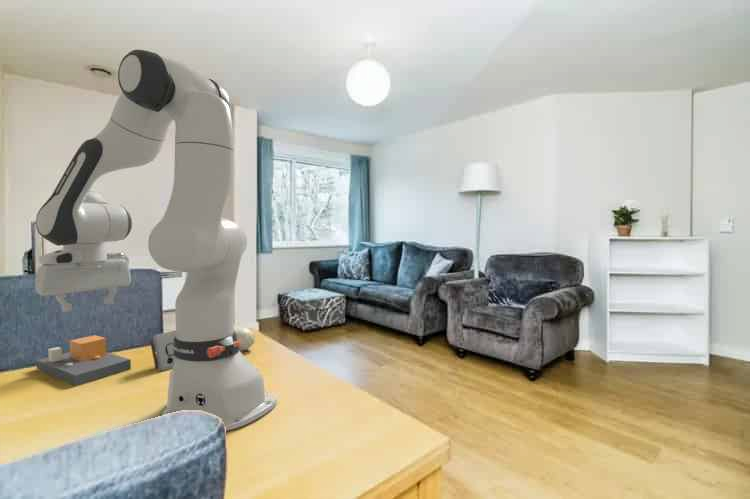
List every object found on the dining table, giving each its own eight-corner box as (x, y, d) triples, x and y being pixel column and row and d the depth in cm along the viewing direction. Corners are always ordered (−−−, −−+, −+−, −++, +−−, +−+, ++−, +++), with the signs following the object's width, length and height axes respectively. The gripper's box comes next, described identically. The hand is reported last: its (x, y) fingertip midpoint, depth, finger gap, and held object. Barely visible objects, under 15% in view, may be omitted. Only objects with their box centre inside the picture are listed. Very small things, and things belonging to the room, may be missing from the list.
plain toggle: (62, 359, 95) (61, 348, 95) (52, 362, 93) (51, 350, 93) (58, 358, 96) (57, 347, 96) (48, 360, 94) (48, 349, 94)
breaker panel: (130, 369, 96) (130, 357, 96) (75, 386, 86) (75, 372, 85) (90, 355, 106) (90, 345, 105) (36, 369, 95) (36, 357, 95)
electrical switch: (160, 372, 94) (158, 336, 94) (148, 370, 97) (146, 335, 97) (194, 361, 102) (191, 327, 102) (182, 359, 105) (180, 327, 105)
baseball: (249, 354, 108) (248, 332, 108) (225, 353, 109) (225, 330, 109) (259, 347, 115) (259, 326, 114) (236, 346, 116) (236, 325, 115)
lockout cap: (106, 354, 99) (106, 338, 99) (81, 361, 94) (80, 344, 94) (95, 351, 102) (94, 335, 102) (70, 357, 97) (69, 340, 97)
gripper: (121, 252, 107) (124, 299, 108) (30, 257, 89) (34, 314, 90) (134, 252, 104) (136, 301, 105) (42, 257, 86) (46, 316, 87)
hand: (88, 307), depth 97 cm, fingers open, 8 cm apart
